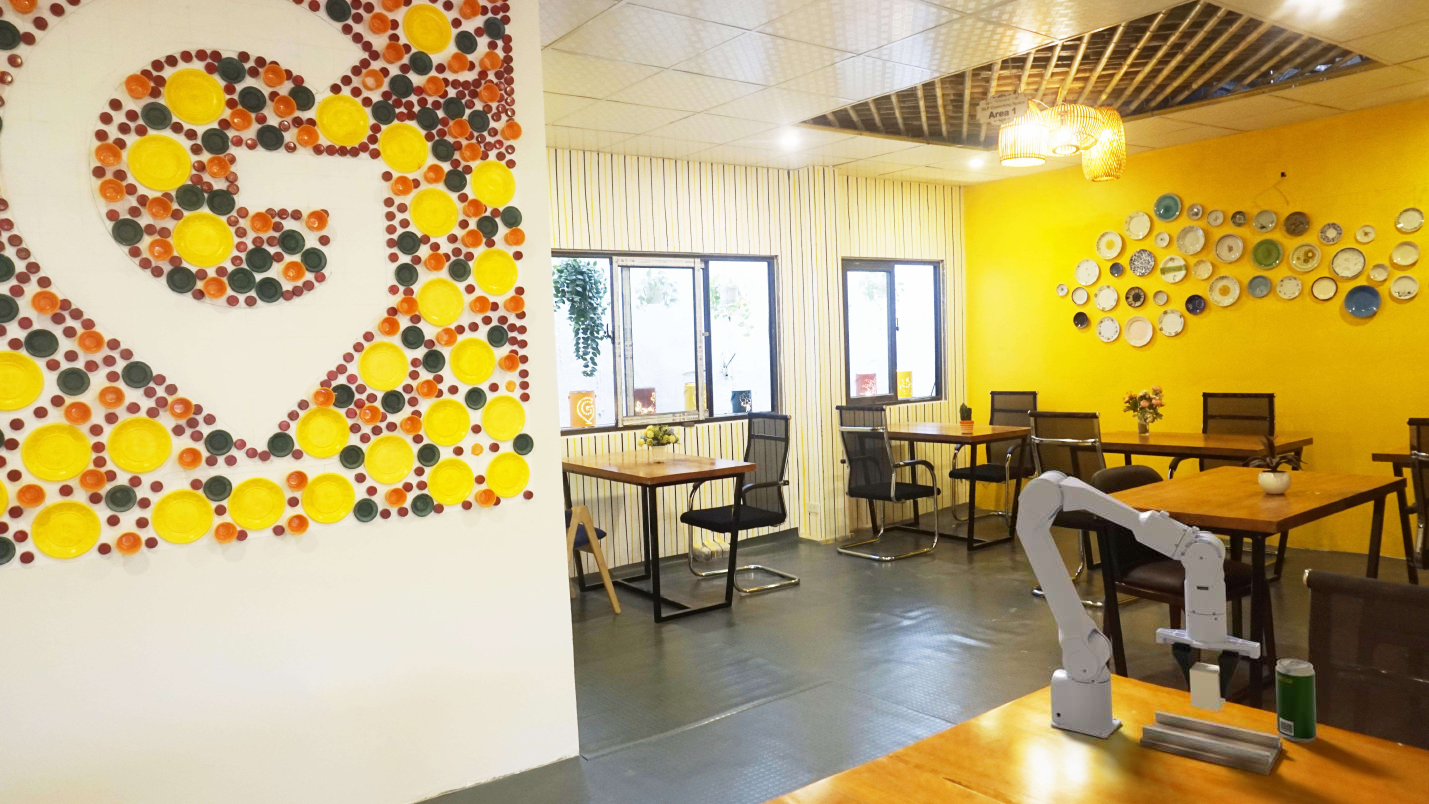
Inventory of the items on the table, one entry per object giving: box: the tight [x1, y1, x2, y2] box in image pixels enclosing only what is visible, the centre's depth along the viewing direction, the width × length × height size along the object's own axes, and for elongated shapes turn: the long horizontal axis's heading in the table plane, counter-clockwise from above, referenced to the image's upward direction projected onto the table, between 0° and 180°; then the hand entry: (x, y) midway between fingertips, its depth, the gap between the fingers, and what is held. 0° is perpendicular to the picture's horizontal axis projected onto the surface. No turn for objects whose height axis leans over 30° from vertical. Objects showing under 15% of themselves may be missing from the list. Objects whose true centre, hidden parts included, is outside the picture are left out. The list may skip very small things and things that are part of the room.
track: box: [1139, 710, 1283, 776], centre depth 143 cm, size 18×11×2 cm, turn 48°
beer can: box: [1275, 658, 1318, 744], centre depth 145 cm, size 5×5×12 cm
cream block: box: [1190, 661, 1226, 713], centre depth 142 cm, size 4×4×6 cm
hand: (1208, 693), depth 143 cm, fingers closed on cream block, 4 cm apart
